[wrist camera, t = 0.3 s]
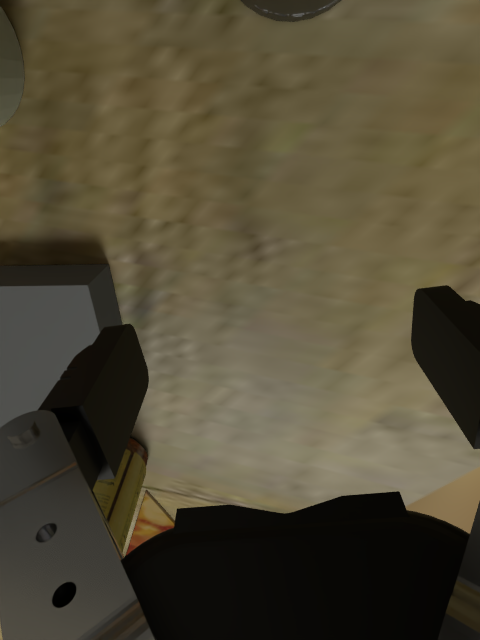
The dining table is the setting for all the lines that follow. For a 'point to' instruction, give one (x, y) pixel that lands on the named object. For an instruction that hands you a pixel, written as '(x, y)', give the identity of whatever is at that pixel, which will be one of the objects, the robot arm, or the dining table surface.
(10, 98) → the reusable coffee cup
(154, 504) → the pizza slice
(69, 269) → the charcoal base
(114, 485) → the sauce bottle
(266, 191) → the dining table surface
